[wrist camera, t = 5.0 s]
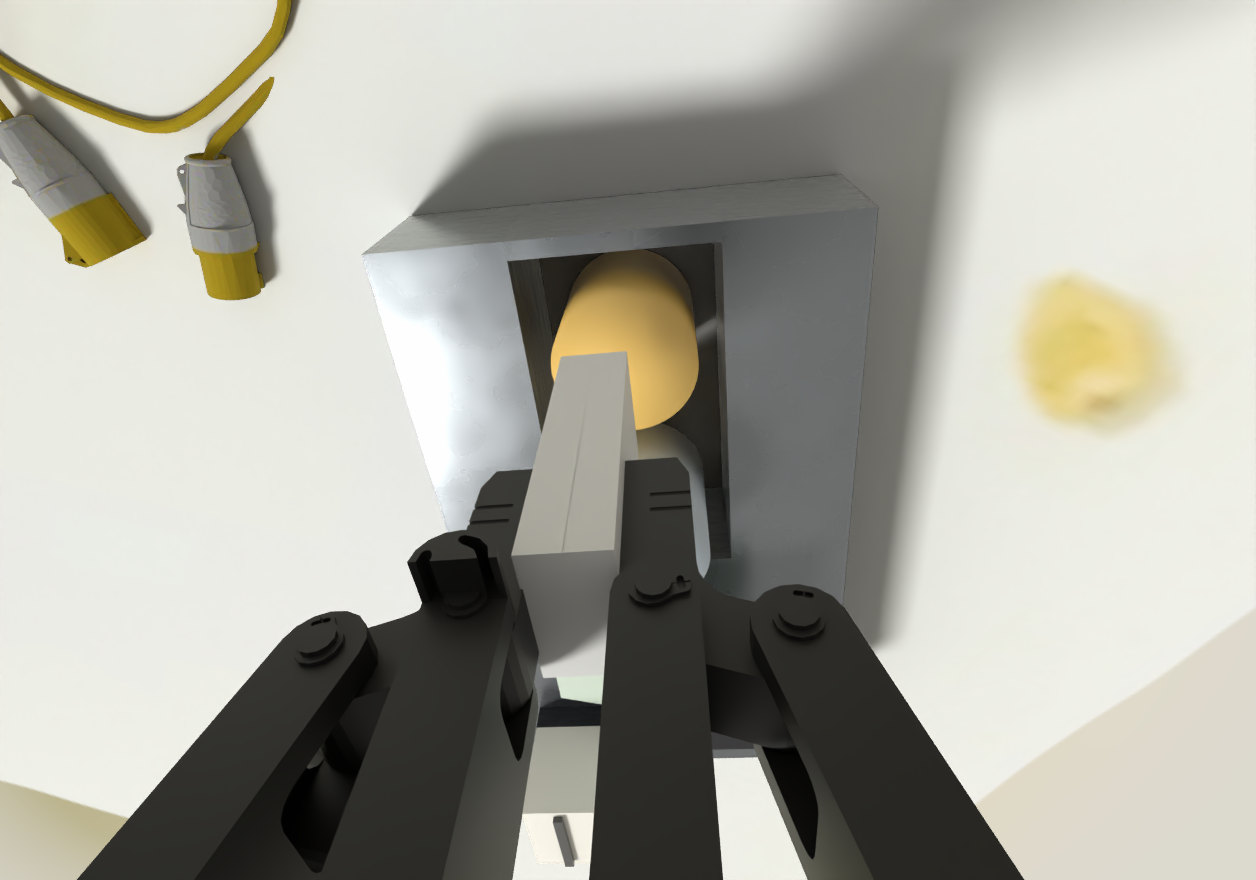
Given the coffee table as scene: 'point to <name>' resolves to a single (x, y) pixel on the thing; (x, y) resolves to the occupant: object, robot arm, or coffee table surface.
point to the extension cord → (207, 182)
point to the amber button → (635, 328)
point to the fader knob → (562, 794)
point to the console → (747, 362)
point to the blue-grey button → (675, 444)
